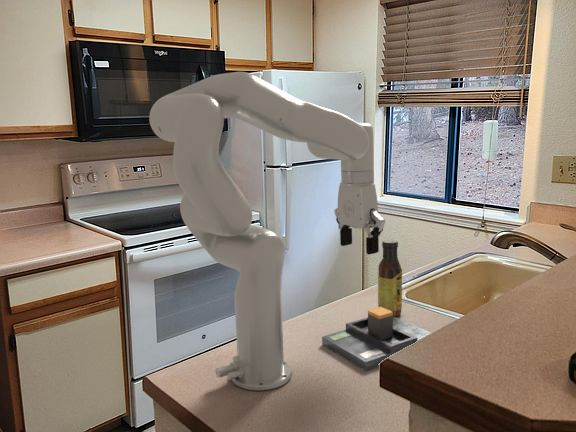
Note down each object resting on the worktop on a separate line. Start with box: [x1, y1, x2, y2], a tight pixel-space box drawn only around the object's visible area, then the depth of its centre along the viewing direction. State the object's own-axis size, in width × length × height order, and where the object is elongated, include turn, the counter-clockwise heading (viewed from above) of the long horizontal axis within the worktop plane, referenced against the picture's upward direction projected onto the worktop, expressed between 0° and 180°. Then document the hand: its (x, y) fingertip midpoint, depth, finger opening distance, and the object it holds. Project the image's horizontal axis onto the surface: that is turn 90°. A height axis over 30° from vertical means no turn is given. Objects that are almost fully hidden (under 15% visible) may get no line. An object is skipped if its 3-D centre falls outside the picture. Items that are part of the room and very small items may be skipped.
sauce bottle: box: [377, 239, 403, 317], centre depth 140 cm, size 7×6×20 cm
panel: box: [321, 316, 432, 372], centre depth 123 cm, size 22×16×4 cm
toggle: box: [367, 307, 393, 340], centre depth 122 cm, size 4×4×6 cm
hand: (359, 248), depth 126 cm, fingers open, 9 cm apart
